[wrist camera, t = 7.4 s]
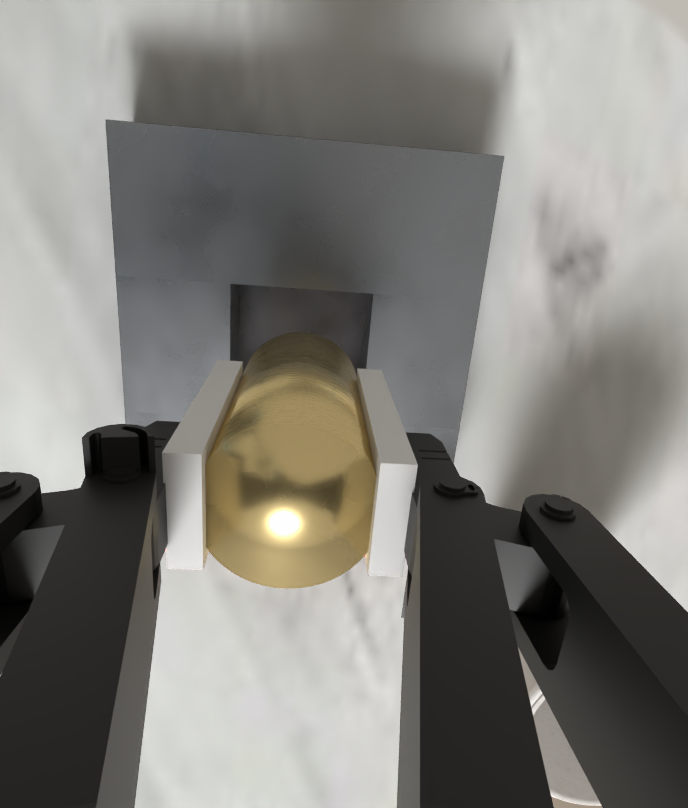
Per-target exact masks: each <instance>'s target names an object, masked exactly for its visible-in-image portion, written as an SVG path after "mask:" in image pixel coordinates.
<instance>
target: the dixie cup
mask: <svg viewBox="0 0 688 808" xmlns="http://www.w3.org/2000/svg"><path fill="white" fill-rule="evenodd" d="M518 650H519V648H518ZM519 654H520V659H521V663H522V668H523V672H524V677H525V681H526V686H527V690H528V695H529V699H530V704H531V708H532V713H533V717H534V722H535V726H536V731H537V735H538V740H539V744H540V749H541V753H542V758H543V762H544V767H545V771H546V776H547V780H548V785H549V789H550V794H551V796H552V797H554V798H557V799H561V800H563V801H566V802H570V803H575V804H581V805H591V806H602V805H601V803H600V802H599V800H598V798H597V796H596V794H595V792H594V790H593V788H592V786H591V785H590V783H589V781H588V779H587V777H586V775H585V773H584V771H583V769H582V767H581V766H580V764H579V762H578V760H577V758H576V756H575V754H574V752H573V750H572V748H571V747H570V745H569V743H568V741H567V739H566V737H565V735H564V733H563V731H562V730H561V728H560V726H559V724H558V722H557V720H556V718H555V716H554V714H553V712H552V711H551V709H550V707H549V705H548V703H547V701H546V699H545V697H544V695H543V693H542V692H541V690H540V688H539V686H538V684H537V682H536V680H535V678H534V676H533V675H532V673H531V671H530V669H529V667H528V665H527V663H526V661H525V659H524V657H523V656H522V654H521V652H520V650H519Z"/></svg>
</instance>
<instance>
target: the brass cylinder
mask: <svg viewBox="0 0 688 808" xmlns="http://www.w3.org/2000/svg"><path fill="white" fill-rule="evenodd" d="M356 379H357V376H356V372H355V369H354V367H353V364H352V362H351V361H350V359H349V357H348V356H347V355H346V353H345V352H344V351H343V350H342V349H341V348H340V347H339V346H338V345H336V344H335V343H333V342H332V341H330V340H329V339H327V338H325V337H322V336H320V335H317V334H313V333H307V332H292V333H286V334H282V335H279V336H277V337H274V338H272V339H270V340H269V341H267V342H265V343H264V344H263V345H262V346H260V347H259V348H258V349H257V350H256V352H255V353H254V354H253V355H252V357H251V358H250V360H249V362H248V364H247V366H246V368H245V370H244V373H243V376H242V379H241V381H240V384H239V386H238V388H237V391H236V393H235V395H234V398H233V400H232V402H231V405H230V407H229V410H228V412H227V414H226V417H225V419H224V421H223V424H222V426H221V429H220V431H219V433H218V436H217V438H216V440H215V443H214V445H213V448H212V450H211V452H210V455H209V457H208V459H207V462H206V464H205V482H206V548H207V549H208V550H209V552H210V553H211V554H212V555H213V557H214V558H215V559H216V560H217V561H218V562H220V563H221V564H222V565H223V566H224V567H226V568H227V569H228V570H230V571H231V572H233V573H234V574H236V575H238V576H240V577H241V578H244V579H246V580H248V581H251V582H253V583H257V584H260V585H264V586H269V587H274V588H302V587H310V586H314V585H318V584H321V583H324V582H327V581H329V580H332V579H334V578H336V577H338V576H340V575H342V574H343V573H345V572H346V571H348V570H349V569H351V568H352V567H353V566H354V565H356V564H357V563H358V562H359V561H360V560H361V559H362V558H363V557H364V556H365V554H366V553H367V552H368V548H369V539H370V530H371V521H372V512H373V503H374V494H375V485H376V472H375V467H374V463H373V458H372V453H371V448H370V444H369V439H368V434H367V430H366V425H365V420H364V416H363V411H362V406H361V402H360V397H359V392H358V388H357V383H356Z"/></svg>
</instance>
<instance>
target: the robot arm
mask: <svg viewBox="0 0 688 808" xmlns="http://www.w3.org/2000/svg"><path fill="white" fill-rule="evenodd" d="M242 376H243V361H228V360H218V361H217V362H216V364H215V366H214V367H213V369H212V371H211V372H210V374H209V376H208V377H207V379H206V381H205V382H204V384H203V385H202V387H201V389H200V390H199V392H198V394H197V395H196V397H195V399H194V400H193V402H192V404H191V405H190V407H189V409H188V410H187V412H186V414H185V415H184V417H183V419H182V420H181V422H173V421H155V422H153V423H151V424H149V425H147V426H146V427H144V426H139V425H133V424H117V425H108V426H104V427H100V428H96V429H94V430H92V431H90V432H87V433H86V434H85V435H84V436H83V437H82V444H83V454H84V465H85V475H86V476H85V479H84V481H83V483H82V486H81V488H78V489H73V490H67V491H59V492H50V493H42V494H41V489H40V483H39V479H38V478H36V477H34V476H33V475H31V474H26V473H20V472H13V473H10V472H0V674H1V673H2V674H1V676H0V808H134V805H135V797H136V788H137V780H138V771H139V763H140V755H141V746H142V738H143V729H144V721H145V712H146V704H147V695H148V687H149V678H150V670H151V662H152V653H153V645H154V636H155V628H156V619H157V611H158V602H159V594H160V585H161V569H160V561H161V558H162V556H163V554H164V551H165V549H166V562H167V569H185V570H203V569H204V565H205V562H206V559H207V555H208V552H209V550H208V549H207V548H206V482H205V464H206V462H207V459H208V457H209V455H210V452H211V450H212V448H213V445H214V443H215V440H216V438H217V436H218V433H219V431H220V429H221V426H222V424H223V421H224V419H225V417H226V414H227V412H228V410H229V407H230V405H231V402H232V400H233V398H234V395H235V393H236V391H237V388H238V386H239V384H240V381H241V379H242ZM356 383H357V388H358V392H359V397H360V402H361V406H362V411H363V416H364V420H365V425H366V430H367V434H368V439H369V444H370V448H371V453H372V458H373V463H374V467H375V472H376V485H375V494H374V503H373V512H372V521H371V530H370V539H369V548H368V552H367V553H366V554H365V557H366V565H367V572H368V576H395V577H402V576H403V569H404V562H405V557H406V561H407V565H408V574H407V581H406V588H405V595H404V602H403V609H402V616H401V617H402V618H404V638H403V664H402V690H401V715H400V741H399V766H398V792H397V808H554V807H553V803H552V798H551V794H550V789H549V785H548V780H547V776H546V771H545V767H544V762H543V758H542V753H541V749H540V744H539V740H538V735H537V731H536V726H535V722H534V717H533V713H532V708H531V704H530V699H529V695H528V690H527V686H526V681H525V677H524V672H523V668H522V663H521V659H520V654H519V650H520V652H521V654H522V656H523V657H524V659H525V661H526V663H527V665H528V667H529V669H530V671H531V673H532V675H533V676H534V678H535V680H536V682H537V684H538V686H539V688H540V690H541V692H542V693H543V695H544V697H545V699H546V701H547V703H548V705H549V707H550V709H551V711H552V712H553V714H554V716H555V718H556V720H557V722H558V724H559V726H560V728H561V730H562V731H563V733H564V735H565V737H566V739H567V741H568V743H569V745H570V747H571V748H572V750H573V752H574V754H575V756H576V758H577V760H578V762H579V764H580V766H581V767H582V769H583V771H584V773H585V775H586V777H587V779H588V781H589V783H590V785H591V786H592V788H593V790H594V792H595V794H596V796H597V798H598V800H599V802H600V803H601V805H602V807H603V808H688V612H687V611H686V610H685V609H684V608H683V607H682V606H681V605H680V604H679V603H678V602H677V601H676V600H675V599H674V598H673V597H672V596H671V595H670V594H669V593H668V592H667V591H666V590H665V589H664V588H663V587H662V586H661V585H660V584H659V583H658V582H657V581H656V580H655V578H654V577H653V576H652V575H651V574H650V573H649V572H648V571H647V570H646V569H645V568H644V567H643V566H642V565H641V564H640V563H639V562H638V561H637V560H636V559H635V558H634V557H633V556H632V555H631V554H630V553H629V552H628V551H627V550H626V549H625V548H624V547H623V546H622V545H621V544H620V543H619V542H618V541H617V540H616V539H615V538H614V537H613V536H612V535H611V534H610V532H609V531H608V530H607V529H606V528H605V527H604V526H603V525H602V524H601V523H600V522H599V521H598V520H597V519H596V518H595V517H594V516H593V515H592V514H591V513H590V512H589V511H588V510H586V509H585V508H584V507H582V506H581V505H580V504H578V503H575V502H573V501H571V500H570V499H568V498H566V497H563V496H562V497H560V496H559V495H546V494H539V495H532V496H530V497H528V498H526V499H525V501H524V504H523V508H522V512H519V511H514V510H510V509H505V508H501V507H497V506H493V505H490V504H488V503H486V501H485V497H484V493H483V491H482V490H481V488H480V487H479V486H477V485H476V484H475V483H473V482H472V481H469V480H467V479H464V478H462V477H460V476H459V474H458V472H457V470H456V468H455V466H454V464H453V462H452V461H451V458H450V456H449V454H448V453H447V450H446V449H445V447H444V445H443V443H442V442H441V441H440V440H439V439H437V438H436V437H434V436H433V435H432V434H428V433H409V432H405V430H404V427H403V425H402V422H401V420H400V417H399V414H398V412H397V409H396V407H395V404H394V401H393V399H392V396H391V393H390V391H389V388H388V386H387V383H386V380H385V378H384V375H383V373H382V370H375V369H359V368H357V379H356ZM518 648H519V650H518Z"/></svg>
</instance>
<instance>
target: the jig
mask: <svg viewBox="0 0 688 808" xmlns="http://www.w3.org/2000/svg"><path fill="white" fill-rule="evenodd" d="M106 135H107V150H108V165H109V180H110V195H111V210H112V226H113V241H114V256H115V271H116V286H117V301H118V316H119V331H120V346H121V361H122V376H123V391H124V406H125V421H126V424H133V425H139V426H144V427H146V426H147V425H149V424H151V423H153V422H155V421H173V422H181V420H182V419H183V417H184V415H185V414H186V412H187V410H188V409H189V407H190V405H191V404H192V402H193V400H194V399H195V397H196V395H197V394H198V392H199V390H200V389H201V387H202V385H203V384H204V382H205V381H206V379H207V377H208V376H209V374H210V372H211V371H212V369H213V367H214V366H215V364H216V362H217V361H218V360H228V361H243V373H244V370H245V368H246V366H247V364H248V362H249V360H250V358H251V357H252V355H253V354H254V353H255V352H256V350H257V349H258V348H259V347H260V346H262V345H263V344H264V343H265V342H267V341H269V340H270V339H272V338H274V337H277V336H279V335H282V334H286V333H292V332H307V333H313V334H317V335H320V336H322V337H325V338H327V339H329V340H330V341H332V342H333V343H335V344H336V345H338V346H339V347H340V348H341V349H342V350H343V351H344V352H345V353H346V355H347V356H348V357H349V359H350V361H351V362H352V364H353V367H354V369H355V372H356V376H357V368H359V369H375V370H382V373H383V375H384V378H385V380H386V383H387V386H388V388H389V391H390V393H391V396H392V399H393V401H394V404H395V407H396V409H397V412H398V414H399V417H400V420H401V422H402V425H403V427H404V430H405V432H409V433H428V434H432V435H433V436H434V437H436V438H437V439H439V440H440V441H441V442H442V443H443V445H444V447H445V449H446V450H447V453H448V454H449V456H450V458H451V461H452V462H453V463H454V457H455V451H456V445H457V439H458V433H459V427H460V421H461V415H462V409H463V403H464V397H465V391H466V385H467V379H468V372H469V366H470V360H471V354H472V348H473V342H474V336H475V330H476V324H477V318H478V312H479V306H480V300H481V294H482V288H483V282H484V276H485V270H486V263H487V257H488V251H489V245H490V239H491V233H492V227H493V221H494V215H495V209H496V203H497V197H498V191H499V185H500V179H501V173H502V167H503V161H504V156H498V155H487V154H476V153H465V152H454V151H443V150H432V149H421V148H410V147H400V146H389V145H378V144H367V143H356V142H345V141H334V140H323V139H312V138H301V137H290V136H280V135H269V134H258V133H247V132H236V131H225V130H214V129H203V128H192V127H181V126H170V125H160V124H149V123H138V122H127V121H116V120H106ZM165 550H166V549H165ZM364 557H365V556H364ZM405 558H406V557H405Z"/></svg>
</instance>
